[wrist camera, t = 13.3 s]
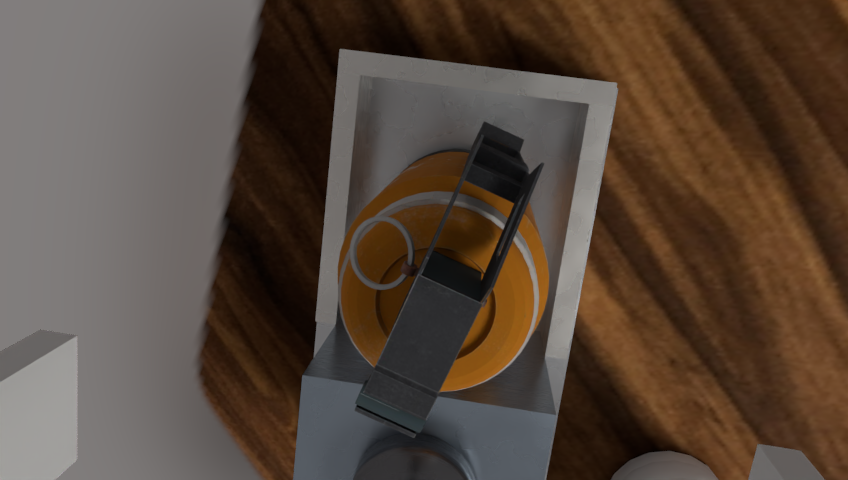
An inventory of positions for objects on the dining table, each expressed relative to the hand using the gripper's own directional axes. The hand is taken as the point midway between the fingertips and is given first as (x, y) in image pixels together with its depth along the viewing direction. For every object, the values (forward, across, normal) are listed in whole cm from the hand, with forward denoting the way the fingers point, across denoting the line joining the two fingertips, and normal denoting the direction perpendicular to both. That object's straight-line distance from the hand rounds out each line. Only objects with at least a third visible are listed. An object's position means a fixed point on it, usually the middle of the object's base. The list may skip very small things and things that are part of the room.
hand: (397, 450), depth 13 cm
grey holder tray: (+30, 0, -5) cm, 30 cm away
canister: (+29, 0, 0) cm, 29 cm away
